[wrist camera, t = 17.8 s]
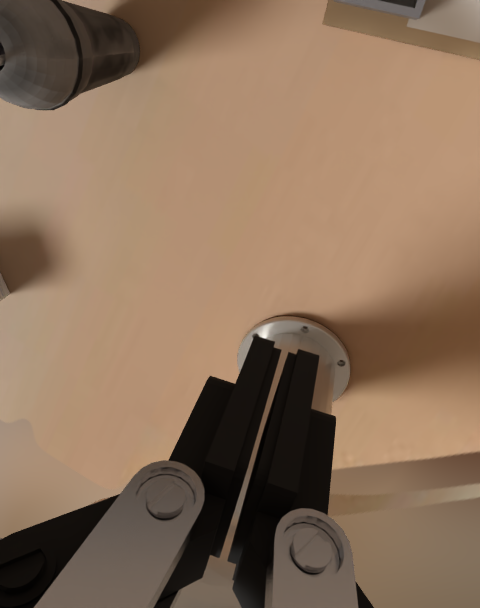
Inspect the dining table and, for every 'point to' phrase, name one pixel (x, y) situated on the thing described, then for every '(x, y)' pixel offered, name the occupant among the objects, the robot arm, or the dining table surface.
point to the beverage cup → (60, 51)
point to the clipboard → (417, 25)
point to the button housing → (390, 6)
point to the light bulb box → (3, 288)
